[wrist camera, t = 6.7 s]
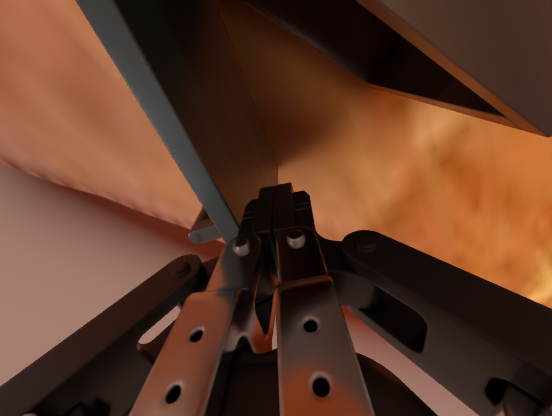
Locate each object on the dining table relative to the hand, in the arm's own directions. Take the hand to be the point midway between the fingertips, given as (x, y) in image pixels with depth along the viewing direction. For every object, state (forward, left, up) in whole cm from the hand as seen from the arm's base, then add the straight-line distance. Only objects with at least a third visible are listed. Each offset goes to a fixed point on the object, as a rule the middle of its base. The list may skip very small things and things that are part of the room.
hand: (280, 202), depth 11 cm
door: (-6, -1, -16) cm, 17 cm away
